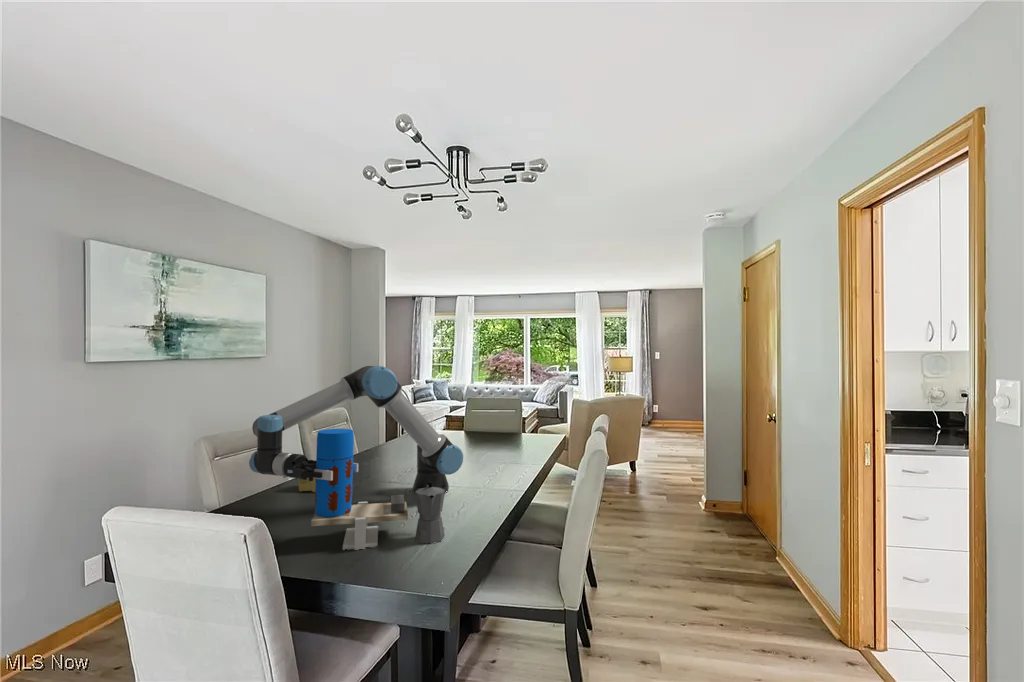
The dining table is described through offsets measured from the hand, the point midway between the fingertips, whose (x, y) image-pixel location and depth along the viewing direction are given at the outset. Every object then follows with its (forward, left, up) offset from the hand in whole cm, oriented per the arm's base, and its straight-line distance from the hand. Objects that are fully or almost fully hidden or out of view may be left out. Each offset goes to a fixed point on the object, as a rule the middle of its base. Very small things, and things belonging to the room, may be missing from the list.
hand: (345, 471), depth 153 cm
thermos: (+4, -2, -13) cm, 14 cm away
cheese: (+17, -67, -22) cm, 73 cm away
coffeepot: (-26, +2, -22) cm, 34 cm away
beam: (-5, -2, -14) cm, 15 cm away
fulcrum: (-5, -2, -22) cm, 23 cm away
